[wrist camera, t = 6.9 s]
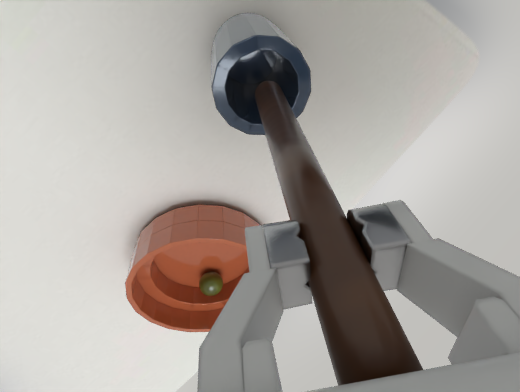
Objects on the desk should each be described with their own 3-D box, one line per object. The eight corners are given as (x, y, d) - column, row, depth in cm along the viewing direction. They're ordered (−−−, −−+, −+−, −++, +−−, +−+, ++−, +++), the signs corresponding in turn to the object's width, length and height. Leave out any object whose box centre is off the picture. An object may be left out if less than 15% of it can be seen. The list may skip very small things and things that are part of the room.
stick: (278, 74, 18) (667, 788, 3) (281, 101, 19) (576, 737, 4) (251, 79, 18) (480, 826, 3) (255, 105, 19) (438, 765, 4)
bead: (220, 264, 40) (220, 283, 38) (224, 279, 42) (225, 298, 40) (196, 268, 40) (195, 288, 38) (202, 283, 42) (202, 302, 40)
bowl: (259, 188, 35) (267, 225, 30) (275, 279, 45) (282, 318, 40) (113, 215, 35) (98, 256, 30) (161, 300, 44) (155, 342, 40)
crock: (280, 5, 25) (309, 25, 17) (286, 84, 28) (312, 127, 21) (204, 18, 24) (201, 44, 17) (220, 96, 28) (224, 143, 21)
